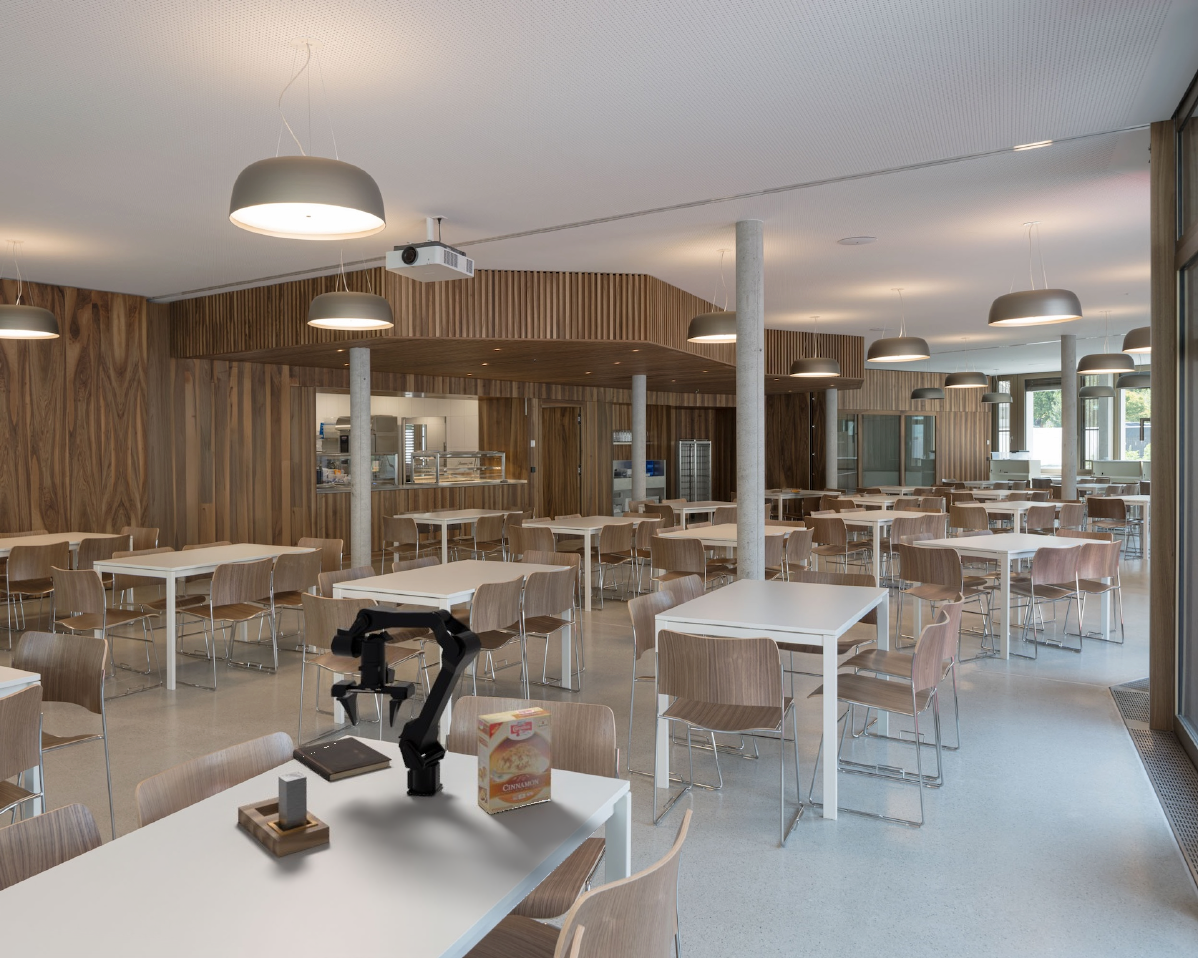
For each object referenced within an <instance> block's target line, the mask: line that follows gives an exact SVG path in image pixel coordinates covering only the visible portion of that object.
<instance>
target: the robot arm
mask: <svg viewBox="0 0 1198 958" xmlns="http://www.w3.org/2000/svg"><path fill="white" fill-rule="evenodd" d="M392 628H394V629H395V628H397V629H421V628H422V629H430V630H431V631H432V632H433V635H434V638H435V640H436V643H437V644H438V645H439V647H440V648H441V649H442V650H441V651H442V652H441V654H440V655H441V656H440V659H441V667H440V669H439V671H438V674H437V676H436V678H435V681H434V682H433V685H432V687H431V689H430V692H429V693H428V696H427V697H426V699H425V702H424V703H423V706H422V709H421V711H420V713H419V715H418V717H416V718H413V719H411V720H410V721H406V722H405V724H404V725H403V728H402V732H401V733H400V735H398V737H397V738H398V739H399V742H398V748H399V751H400V754H401V758H402V760H403V763H404V767H405V769H408V770H407V771H406V772H407V773H406V776H407V778H406V779H407V780H406V788H407V791H406V794H407V795H409V796H413V795H414V796H426V797H427V796H428V797H429V796H430V797H433V796H436V795H437V793H438V792H439V790H440V789H441V788H442V787H443V785H444V784H443V783H442V782H441V761H442V760H444V759H445V756H446V749H445V748H444V747H443V746H442V744H441V743H440V741H439V739H438V737H439V734H440V733H439V732H440V731H439V722H440V720H441V718H442V715H443V714H444V711H445V709H446V708H447V705H448V703H449V701H450V699H451V696H452V695H453V692H454V690H455V688H456V686H457V685H458V684H457V683H458V682H459V680H460V677H461V675H462V673H463V672H464V671H465V669H467V667H468V666H469V665H471V663H472V662H473V661H474V660H475V659H476V657H477V656H478V654H479V653H480V652H481V650H482V645H483V644H482V642H481V639H480V637H479V635H478V634H477V633H476V632H474V631H472V630H471V629H470V627H469V626H468V625H467V624H466V623H463V622H462V621H461V620H459V619H458V618H456V617H455V616H454V615H453V614H452V613H451V612H450V611H449V610H448V609H445V608H441V609H396V608H394V607H392V606H388V605H383V604H377V605H373V606H370V607H369V606H368V607H364V608H361V609H359V611H358V613H356V618H355V619H354V621H353V623H352V624H351V626H350V628H349V627H344V626H343V627H339V628H337V629H336V634H334V636H333V639H332V641H331V643H330V651H331V653H332V655H334V656H336V657H342V658H350V659H351V658H352V659H358V658H360V665H359V666H358V667H357V668H358V669H357V671H358V672H360V682H359V683H358V684H357V681H356V680H355V679H341V680H339V681H337V682H335V683H334V684H333V685H332V686H331V688H330V697H331V698H335V700H336V701H337V702H339V703H340V704H341V706H342V707H343V710H345V712H346V714H347V716H348V718H349V720H350V722H351V724H352V726H356V725H357V721H358V720H357V719H358V718H357V717H358V715H357V713H358V712H357V698H358V695H359V694H373V695H375V694H376V695H378V694H379V695H389V696H390V697H391V699H390V700H389V702H388V706H389V708H388V709H389V714H388V715H389V726H390V728H393V727H394V726H395V723H396V720H397V717H398V714H399V712H400V709H401V706H402V704H403V703H404V702H405V701H407V700H408V699H410V698H411V697H412V696H414V695H415V694H416V686H415V684H414V683H413V682H412V681H398V682H396V683H395V675H396V670H395V669H394V668H391V667H389V661H386V660H387V659H386V658H387V657H386V650H387V649H386V648H387V646H386V643H389V642H392V641H394V637H393V636H392V635H391V634H389V632H388V631H387V630H386V629H392ZM382 630H384V631H382ZM378 631H381V632H379V633H376V632H378ZM366 634H367V635H366ZM451 634H452V635H451ZM394 683H395V684H394ZM389 684H393V685H389Z"/></svg>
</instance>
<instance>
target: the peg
mask: <svg viewBox="0 0 1198 958" xmlns="http://www.w3.org/2000/svg"><path fill="white" fill-rule="evenodd" d="M307 780H308V779H307V776H306V775H304V774H303V773H301V772H299V771H295V772H291V773H287V774H282V775H279V776H278V797H279V828H280V829H281V830H282V831H283V832H284V831H288V830H291V829H294V828H298V827H301V826H305V825H307V811H308V810H307V809H308V808H307V807H308V806H307V805H308V804H307V803H308V799H307V794H308V792H307V787H308V786H307V785H308V784H307Z"/></svg>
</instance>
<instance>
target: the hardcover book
mask: <svg viewBox="0 0 1198 958" xmlns="http://www.w3.org/2000/svg"><path fill="white" fill-rule="evenodd" d="M334 743H336V744H334ZM327 746H329V747H327ZM324 747H327V748H324ZM314 752H315V753H314ZM311 753H312V754H311ZM303 756H304V757H303ZM292 758H295V759H296V760H298V761H299V762H300V763H302V764H303V765H305V766H306V765H307V766H306V767H308V768H309V767H310V768H309V769H310V770H312V771H313V772H315V773H316V772H317V774H318V775H319V774H320V775H319V776H321V775H322V776H323V778H324V779H326V780H327V781H328V780H329V781H328V782H330V780H331V781H334V779H335V780H339V779H342V778H347V777H349V776H350V777H351V776H354V775H358V774H362V773H363V774H364V773H366V772H370V771H374V770H380V769H383V768H387V767H390V765H391V763H390V761H391V762H392V758H390V757H389V756H386V755H385V754H383V753H381V752H379V751H378V750H376V749H374V748H372V747H371V746H369V745H367V744H366V743H364V742H361V741H360V740H358V739H356V738H355V737H353V736H349V737H345V738H341V739H337V740H330V741H326V742H323V743H322V742H321V743H317V744H312V745H308V746H303V747H299V748H298V747H297V748H295V749H294V750H293V751H292ZM322 776H321V777H322Z"/></svg>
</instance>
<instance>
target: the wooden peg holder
mask: <svg viewBox="0 0 1198 958" xmlns="http://www.w3.org/2000/svg"><path fill="white" fill-rule="evenodd" d="M237 817H238V820H237V822H238V823H239V822H240V823H239V824H240V825H241V826H243V827H244V829H246V828H247V829H246V830H247V831H248V830H249V831H250V832H249V833H250V834H251V835H253V836H254V837H255V838H256V839H257V838H258V839H259V840H258V839H257V840H258V841H259V842H261V843H262V844H263V845H264V846H265V847H266V848H268V850H270V851H271V852H272V853H273V855H275V856H277V858H280V857H284V856H286V855H287V856H288V855H291V854H295V853H297V852H300V851H304V850H307V849H311V848H314V847H317V846H320V845H323V844H327V843H330V826H329V825H328V824H326V823H325V822H324V821H322V820H321V819H320V818H319V817H318V816H316V815H314V814H313V813H311V812H310V811H309V810H307V825H305V826H301V827H298V828H294V829H291V830H288V831H284V832H283V831H282V830H281V829H280V828H279V796H276V797H272V798H268V799H263V800H261V801H257V802H252V803H249V804H245V805H240V806H238V807H237Z"/></svg>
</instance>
